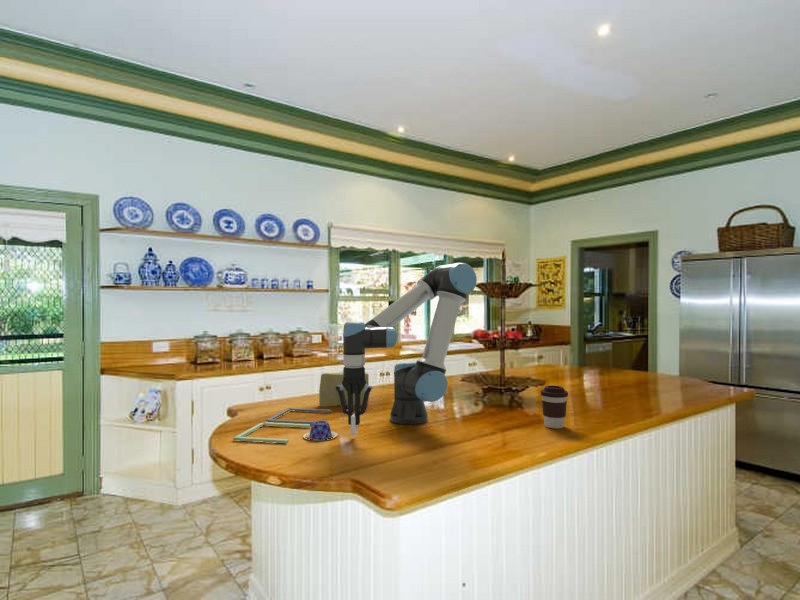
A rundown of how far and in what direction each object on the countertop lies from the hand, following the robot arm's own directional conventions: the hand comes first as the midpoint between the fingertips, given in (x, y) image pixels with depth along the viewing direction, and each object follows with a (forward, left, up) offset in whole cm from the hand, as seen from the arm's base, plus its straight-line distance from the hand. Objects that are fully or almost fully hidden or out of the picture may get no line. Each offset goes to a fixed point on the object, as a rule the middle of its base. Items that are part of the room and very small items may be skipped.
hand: (354, 434), depth 162 cm
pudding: (+12, 0, -2) cm, 12 cm away
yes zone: (+29, 0, -2) cm, 29 cm away
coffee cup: (-71, -28, -2) cm, 76 cm away
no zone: (+29, -24, -2) cm, 38 cm away
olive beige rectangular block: (+20, -50, -2) cm, 54 cm away
